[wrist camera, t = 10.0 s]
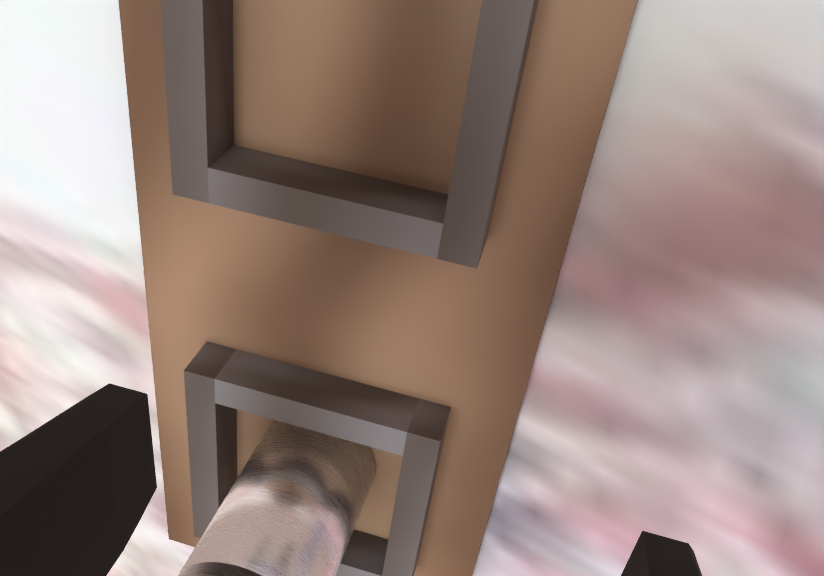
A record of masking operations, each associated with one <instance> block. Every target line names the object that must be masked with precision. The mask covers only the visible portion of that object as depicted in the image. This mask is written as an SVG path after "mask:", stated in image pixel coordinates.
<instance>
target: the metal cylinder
mask: <svg viewBox="0 0 824 576" xmlns="http://www.w3.org/2000/svg"><path fill="white" fill-rule="evenodd" d="M375 474H376V462H375V458H374V455H373V453H372V450H371V449H370V447H369V446H366V445H362V444H359V443H355V442H351V441H348V440H344V439H341V438H337V437H334V436H330V435H327V434H323V433H319V432H316V431H312V430H309V429H305V428H302V427H298V426H294V425H291V424H287V423H284V422H280V421H277V420H273V421H272V422H271V424H270V425H269V426H268V428H267V430H266V431H265V433H264V435H263V436H262V438H261V440H260V441H259V443H258V445H257V446H256V448H255V449H254V451H253V453H252V454H251V456H250V458H249V459H248V461H247V463H246V464H245V466H244V468H243V469H242V471H241V473H240V474H239V476H238V478H237V479H236V481H235V483H234V484H233V486H232V488H231V489H230V491H229V492H228V494H227V496H226V497H225V499H224V501H223V502H222V504H221V506H220V507H219V509H218V511H217V512H216V514H215V516H214V517H213V519H212V521H211V522H210V524H209V526H208V527H207V529H206V531H205V532H204V534H203V535H202V537H201V539H200V540H199V542H198V544H197V545H196V547H195V549H194V550H193V552H192V554H191V555H190V557H189V559H188V560H187V562H186V564H185V565H184V567H183V569H182V570H181V572H180V574H179V575H178V576H335V575H336V573H337V570H338V568H339V565H340V563H341V560H342V558H343V555H344V553H345V550H346V548H347V545H348V543H349V540H350V538H351V536H352V533H353V531H354V528H355V526H356V523H357V521H358V518H359V516H360V513H361V511H362V508H363V506H364V503H365V501H366V498H367V496H368V493H369V491H370V488H371V486H372V483H373V481H374V478H375Z"/></svg>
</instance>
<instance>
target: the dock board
mask: <svg viewBox="0 0 824 576" xmlns="http://www.w3.org/2000/svg"><path fill="white" fill-rule="evenodd" d="M637 1H638V0H119V9H120V20H121V31H122V41H123V52H124V63H125V73H126V84H127V95H128V106H129V116H130V127H131V138H132V148H133V159H134V170H135V180H136V191H137V202H138V213H139V223H140V234H141V245H142V255H143V266H144V277H145V288H146V298H147V309H148V320H149V330H150V341H151V352H152V362H153V373H154V384H155V395H156V405H157V416H158V427H159V437H160V448H161V459H162V469H163V480H164V491H165V502H166V512H167V523H168V534H169V539H171V540H174V541H177V542H180V543H184V544H187V545H190V546H193V547H196V545H197V544H198V542H199V540H200V539H201V537H202V535H203V534H204V532H205V531H206V529H207V527H208V526H209V524H210V522H211V521H212V519H213V517H214V516H215V514H216V512H217V511H218V509H219V507H220V506H221V504H222V502H223V501H224V499H225V497H226V496H227V494H228V492H229V491H230V489H231V488H232V486H233V484H234V483H235V481H236V479H237V478H238V476H239V474H240V473H241V471H242V469H243V468H244V466H245V464H246V463H247V461H248V459H249V458H250V456H251V454H252V453H253V451H254V449H255V448H256V446H257V445H258V443H259V441H260V440H261V438H262V436H263V435H264V433H265V431H266V430H267V428H268V426H269V425H270V424H271V422H272V421H273V420H277V421H280V422H284V423H287V424H291V425H294V426H298V427H302V428H305V429H309V430H312V431H316V432H319V433H323V434H327V435H330V436H334V437H337V438H341V439H344V440H348V441H351V442H355V443H359V444H362V445H366V446H369V447H370V449H371V450H372V453H373V455H374V458H375V462H376V474H375V478H374V481H373V483H372V486H371V488H370V491H369V493H368V496H367V498H366V501H365V503H364V506H363V508H362V511H361V513H360V516H359V518H358V521H357V523H356V526H355V528H354V531H353V533H352V536H351V538H350V540H349V543H348V545H347V548H346V550H345V553H344V555H343V558H342V560H341V563H340V565H339V568H338V570H337V573H336V575H335V576H472V573H473V570H474V567H475V563H476V560H477V556H478V553H479V549H480V546H481V542H482V539H483V535H484V532H485V528H486V525H487V521H488V518H489V514H490V511H491V508H492V504H493V501H494V497H495V494H496V490H497V487H498V483H499V480H500V476H501V473H502V469H503V466H504V462H505V459H506V456H507V452H508V449H509V445H510V442H511V438H512V435H513V431H514V428H515V424H516V421H517V417H518V414H519V410H520V407H521V404H522V400H523V397H524V393H525V390H526V386H527V383H528V379H529V376H530V372H531V369H532V365H533V362H534V358H535V355H536V352H537V348H538V345H539V341H540V338H541V334H542V331H543V327H544V324H545V320H546V317H547V313H548V310H549V306H550V303H551V300H552V296H553V293H554V289H555V286H556V282H557V279H558V275H559V272H560V268H561V265H562V261H563V258H564V254H565V251H566V247H567V244H568V241H569V237H570V234H571V230H572V227H573V223H574V220H575V216H576V213H577V209H578V206H579V202H580V199H581V195H582V192H583V189H584V185H585V182H586V178H587V175H588V171H589V168H590V164H591V161H592V157H593V154H594V150H595V147H596V143H597V140H598V137H599V133H600V130H601V126H602V123H603V119H604V116H605V112H606V109H607V105H608V102H609V98H610V95H611V91H612V88H613V85H614V81H615V78H616V74H617V71H618V67H619V64H620V60H621V57H622V53H623V50H624V46H625V43H626V39H627V36H628V32H629V29H630V26H631V22H632V19H633V15H634V12H635V8H636V5H637Z"/></svg>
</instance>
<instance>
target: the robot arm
mask: <svg viewBox="0 0 824 576" xmlns="http://www.w3.org/2000/svg"><path fill="white" fill-rule="evenodd" d="M156 488H157V484H156V475H155V465H154V455H153V445H152V436H151V426H150V416H149V406H148V397H147V394H145V393H142V392H138V391H135V390H131V389H127V388H124V387H120V386H116V385H113V384H108V385H106V386H104V387H103V388H101V389H99V390H98V391H96V392H95V393H93V394H91V395H90V396H88V397H86V398H85V399H83V400H82V401H80V402H78V403H77V404H75V405H74V406H72V407H70V408H69V409H67V410H66V411H64V412H63V413H61V414H59V415H58V416H56V417H55V418H53V419H52V420H50V421H48V422H47V423H45V424H44V425H42V426H41V427H39V428H37V429H36V430H34V431H33V432H31V433H29V434H28V435H26V436H25V437H23V438H22V439H20V440H18V441H17V442H15V443H14V444H12V445H10V446H9V447H7V448H5V449H4V450H2V451H1V452H0V576H106V575H107V574H108V572H109V571H110V569H111V568H112V566H113V565H114V563H115V562H116V560H117V559H118V557H119V556H120V554H121V553H122V552H123V550H124V548H125V546H126V545H127V543H128V541H129V539H130V537H131V535H132V534H133V532H134V530H135V528H136V526H137V525H138V523H139V521H140V519H141V517H142V515H143V513H144V511H145V509H146V507H147V505H148V503H149V502H150V500H151V498H152V496H153V494H154V492H155V490H156ZM621 576H702V574H701V571H700V568H699V565H698V563H697V560H696V557H695V554H694V551H693V550H692V548H691V547H690V545H689V544H688V543H684V542H681V541H677V540H674V539H670V538H666V537H663V536H659V535H655V534H652V533H648V532H645V531H642V533H641V535H640V537H639V539H638V541H637V543H636V545H635V548H634V550H633V552H632V554H631V556H630V558H629V560H628V562H627V564H626V566H625V568H624V570H623V573H622V575H621Z"/></svg>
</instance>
